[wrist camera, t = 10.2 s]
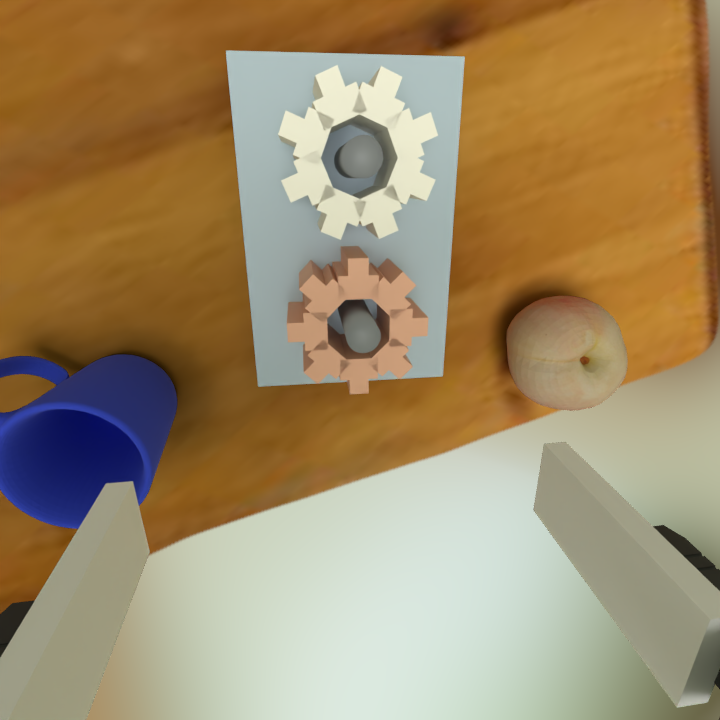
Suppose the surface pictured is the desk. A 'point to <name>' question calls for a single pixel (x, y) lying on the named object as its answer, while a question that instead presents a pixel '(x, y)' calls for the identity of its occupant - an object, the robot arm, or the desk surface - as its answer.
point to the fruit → (566, 353)
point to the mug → (84, 435)
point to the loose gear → (331, 348)
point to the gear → (387, 125)
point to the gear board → (350, 175)
